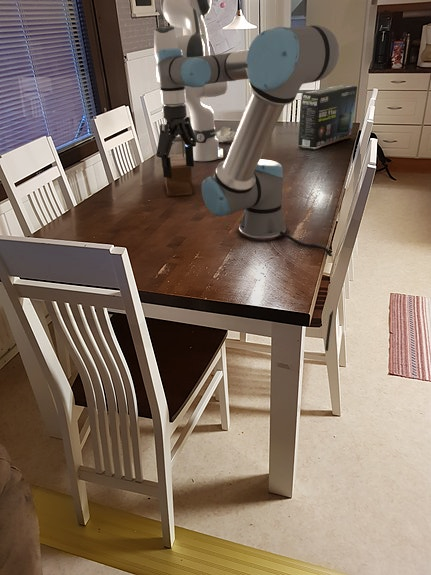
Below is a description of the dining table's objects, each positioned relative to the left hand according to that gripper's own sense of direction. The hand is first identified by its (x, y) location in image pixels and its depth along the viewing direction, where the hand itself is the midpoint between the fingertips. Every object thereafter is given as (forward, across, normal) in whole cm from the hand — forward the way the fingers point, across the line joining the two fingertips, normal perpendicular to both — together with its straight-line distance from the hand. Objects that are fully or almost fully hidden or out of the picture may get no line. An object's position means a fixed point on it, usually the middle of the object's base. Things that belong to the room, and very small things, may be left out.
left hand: (171, 114), depth 179 cm
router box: (+28, -48, +84) cm, 101 cm away
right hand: (+12, +37, -1) cm, 39 cm away
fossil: (+28, -71, +33) cm, 83 cm away
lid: (+17, +5, 0) cm, 18 cm away
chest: (+28, +5, 0) cm, 29 cm away
